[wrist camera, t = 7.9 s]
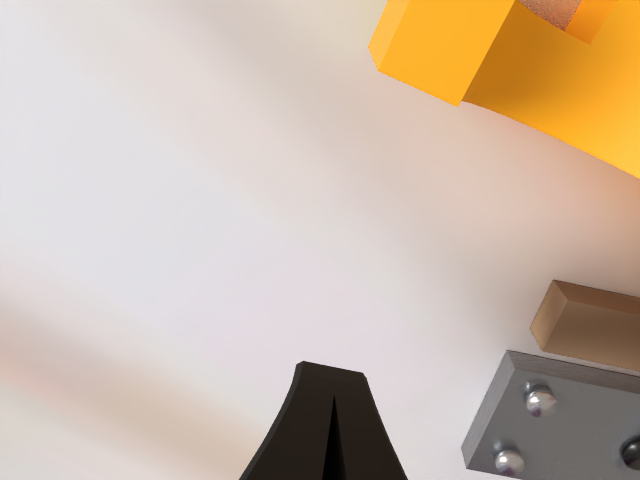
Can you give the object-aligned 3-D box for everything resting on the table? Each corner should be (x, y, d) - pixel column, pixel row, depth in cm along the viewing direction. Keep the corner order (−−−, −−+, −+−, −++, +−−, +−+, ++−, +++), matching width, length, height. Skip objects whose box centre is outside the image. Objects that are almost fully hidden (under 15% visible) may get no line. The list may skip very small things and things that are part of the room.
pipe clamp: (760, 69, 16) (990, 106, 10) (669, 184, 18) (822, 272, 12) (430, -98, 15) (483, -164, 9) (367, 46, 17) (378, 70, 11)
